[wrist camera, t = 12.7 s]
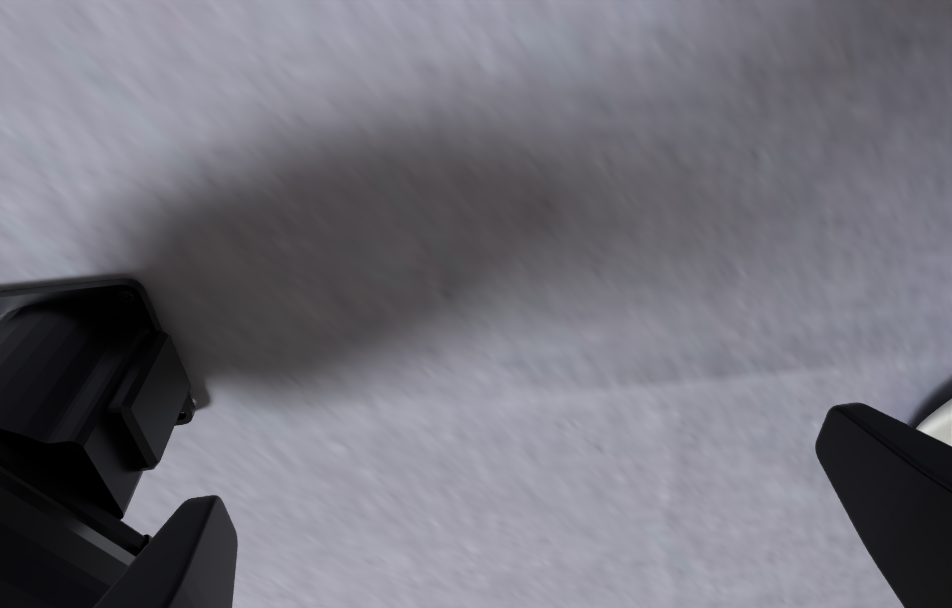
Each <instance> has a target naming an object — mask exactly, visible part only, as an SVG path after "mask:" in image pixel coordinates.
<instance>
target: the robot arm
mask: <svg viewBox="0 0 952 608" xmlns="http://www.w3.org/2000/svg"><path fill="white" fill-rule="evenodd" d="M122 291H128V292H130V293H131V294H132V295H133V296H134V297H127V296H125V295H124V294H123V293H122ZM189 389H190V382H189V380H188V378H187V375H186V373H185V370H184V368H183V366H182V363H181V361H180V358H179V356H178V354H177V351H176V349H175V347H174V344H173V342H172V339H171V337H170V335H169V334H167V333H166V332H165V331H163V330H162V328H161V326H160V323H159V321H158V319H157V316H156V314H155V312H154V309H153V307H152V305H151V302H150V300H149V298H148V295H147V293H146V291H145V289H144V287H143V286H142V285H141V284H140V283H139V282H137V281H135V280H132V279H115V280H106V281H96V282H87V283H78V284H68V285H59V286H50V287H40V288H31V289H22V290H12V291H3V292H0V608H232V602H233V591H234V580H235V570H236V559H237V547H238V543H237V534H236V530H235V528H234V526H233V523H232V521H231V519H230V517H229V514H228V512H227V510H226V508H225V505H224V503H223V501H222V499H221V498H220V497H219V496H217V495H211V496H204V497H197V498H191V499H188V500H186V501H185V502H184V503H182V505H181V506H180V507H179V508H178V509H177V510H176V511H175V513H174V514H173V515H172V516H171V517H170V518H169V519H168V521H167V522H166V523H165V524H164V525H163V526H162V528H161V529H160V530H159V531H158V532H157V533H156V535H155V536H154V537H151V536H150V535H148V534H146V535H142V534H140V533H139V532H137V531H136V530H134V529H133V528H131V527H130V526H128V525H127V524H125V523H124V522H122V521H121V519H122V518H123V517H124V515H125V512H126V510H127V508H128V505H129V503H130V501H131V498H132V496H133V494H134V491H135V489H136V487H137V484H138V482H139V480H140V477H141V475H142V473H143V471H145V470H152V469H154V468H155V467H156V466H157V464H158V463H159V462H160V460H161V457H162V455H163V453H164V450H165V448H166V445H167V443H168V440H169V438H170V435H171V433H172V431H173V428H174V426H176V425H183V424H187V423H189V422H190V421H191V420H192V418H193V416H194V413H195V406H194V403H193V401H192V398H191V396H190V394H189ZM180 411H182V412H184V413H180ZM815 449H816V454H817V457H818V459H819V461H820V463H821V465H822V467H823V469H824V471H825V473H826V475H827V476H828V478H829V480H830V482H831V484H832V486H833V488H834V490H835V492H836V493H837V495H838V497H839V499H840V501H841V503H842V505H843V507H844V508H845V510H846V512H847V514H848V516H849V518H850V520H851V522H852V523H853V525H854V527H855V529H856V531H857V533H858V535H859V536H860V538H861V540H862V542H863V544H864V545H865V547H866V549H867V551H868V552H869V554H870V555H871V557H872V559H873V560H874V562H875V563H876V565H877V567H878V568H879V570H880V571H881V573H882V574H883V576H884V577H885V579H886V580H887V582H888V583H889V585H890V586H891V588H892V589H893V591H894V592H895V594H896V595H897V597H898V598H899V600H900V602H901V603H902V605H903V606H904V608H952V446H950V445H948V444H946V443H944V442H942V441H940V440H938V439H936V438H934V437H932V436H930V435H928V434H925V433H923V432H921V431H919V430H917V429H915V428H913V427H911V426H909V425H907V424H905V423H903V422H901V421H899V420H897V419H895V418H892V417H890V416H888V415H886V414H884V413H882V412H880V411H878V410H876V409H874V408H872V407H870V406H868V405H865V404H863V403H848V404H841V405H836V406H833V407H832V408H831V409H830V410H829V411H828V413H827V415H826V418H825V420H824V423H823V425H822V428H821V430H820V433H819V435H818V438H817V440H816V445H815Z"/></svg>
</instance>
